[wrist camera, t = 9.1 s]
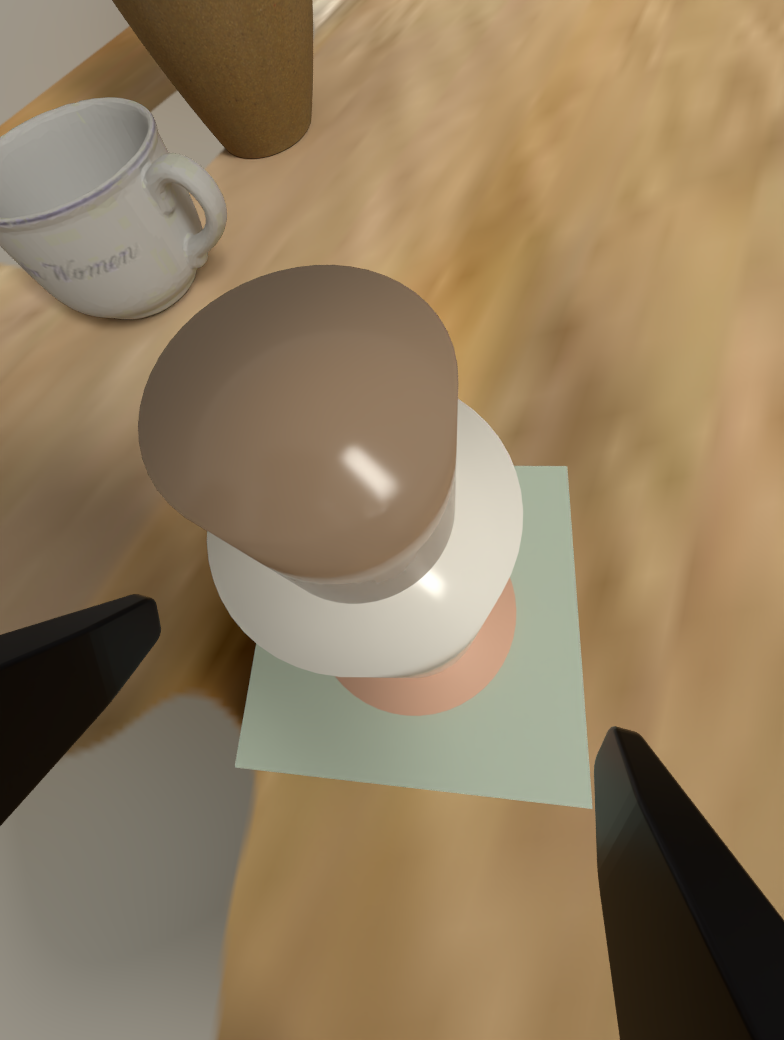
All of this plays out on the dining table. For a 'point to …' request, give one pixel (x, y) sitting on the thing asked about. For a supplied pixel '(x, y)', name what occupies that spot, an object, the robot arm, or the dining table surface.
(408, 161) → the dining table surface
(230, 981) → the dining table surface
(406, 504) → the cosmetic bottle
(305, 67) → the plant pot
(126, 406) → the dining table surface
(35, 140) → the teacup
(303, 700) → the stacking base
